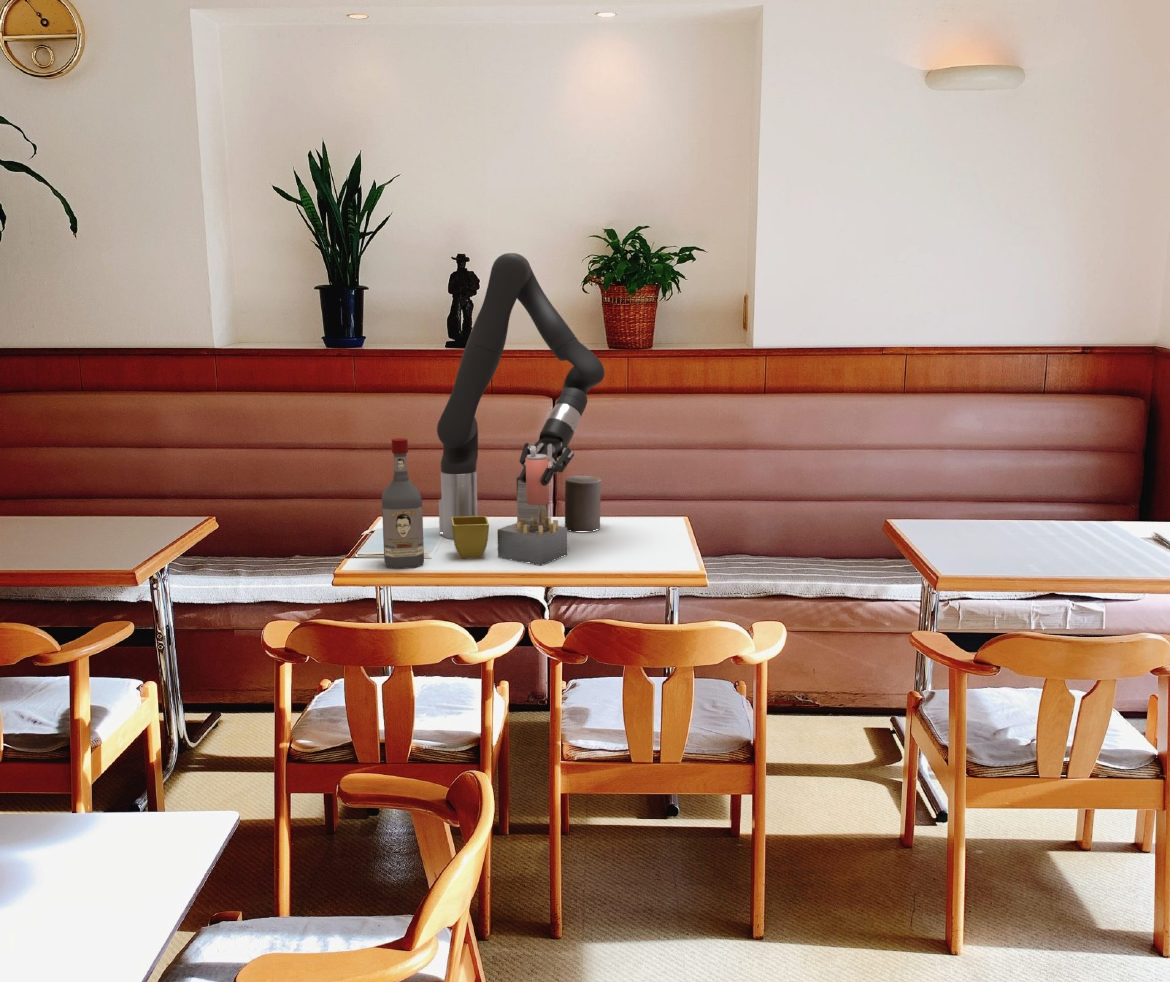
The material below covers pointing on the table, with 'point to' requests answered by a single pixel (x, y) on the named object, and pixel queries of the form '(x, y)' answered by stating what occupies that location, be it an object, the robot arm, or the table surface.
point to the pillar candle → (582, 503)
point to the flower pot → (470, 535)
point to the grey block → (532, 541)
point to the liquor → (402, 515)
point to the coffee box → (528, 506)
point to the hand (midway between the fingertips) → (532, 482)
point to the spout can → (536, 478)
